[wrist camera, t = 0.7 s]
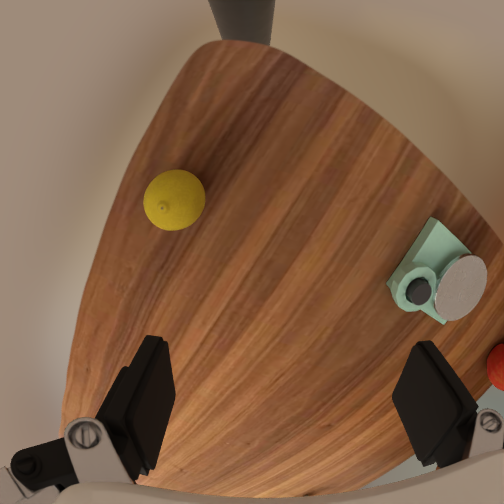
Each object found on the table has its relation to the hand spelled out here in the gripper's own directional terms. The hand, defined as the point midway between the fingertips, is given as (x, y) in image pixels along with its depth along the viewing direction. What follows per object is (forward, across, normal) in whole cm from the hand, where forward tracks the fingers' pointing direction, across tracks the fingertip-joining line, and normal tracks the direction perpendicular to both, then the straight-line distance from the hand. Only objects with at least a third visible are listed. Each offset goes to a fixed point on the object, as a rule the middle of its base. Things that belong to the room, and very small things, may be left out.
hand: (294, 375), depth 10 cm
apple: (+23, -46, +21) cm, 55 cm away
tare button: (+19, -17, +5) cm, 26 cm away
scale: (+22, -22, +4) cm, 32 cm away
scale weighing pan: (+19, -24, +5) cm, 31 cm away
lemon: (+22, +9, -3) cm, 24 cm away
